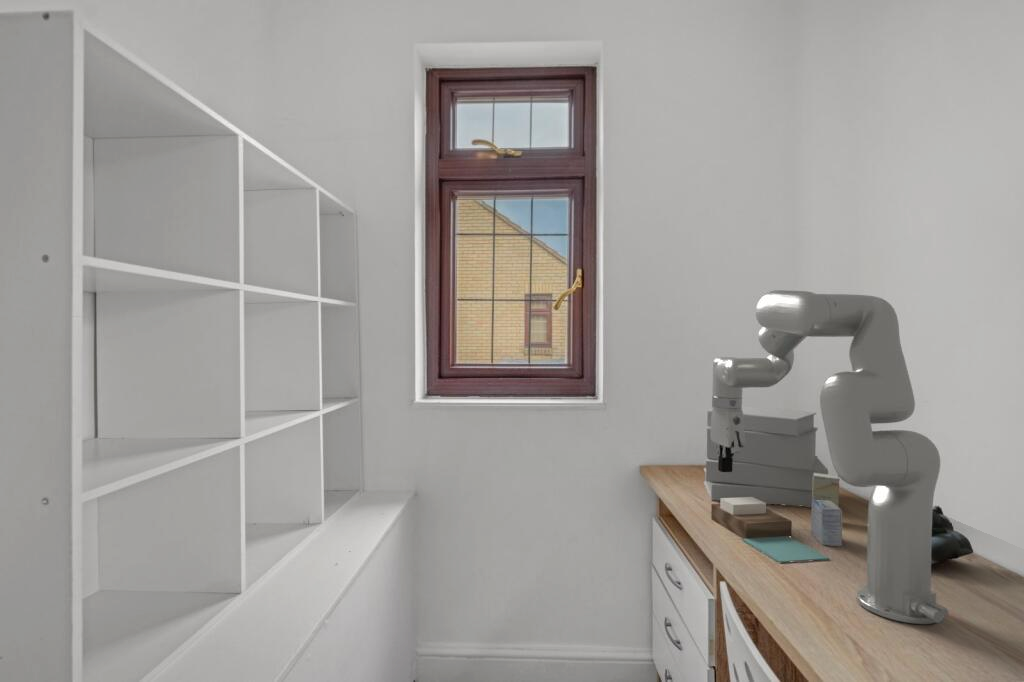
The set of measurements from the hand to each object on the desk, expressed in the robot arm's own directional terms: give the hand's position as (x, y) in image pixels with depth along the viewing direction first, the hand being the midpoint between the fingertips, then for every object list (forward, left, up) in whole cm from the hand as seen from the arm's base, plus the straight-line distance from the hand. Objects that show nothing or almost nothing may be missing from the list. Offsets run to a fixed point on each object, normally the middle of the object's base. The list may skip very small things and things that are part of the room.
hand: (725, 471), depth 157 cm
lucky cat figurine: (-35, -26, -12) cm, 46 cm away
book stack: (+18, -23, -12) cm, 32 cm away
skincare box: (-8, -24, -12) cm, 28 cm away
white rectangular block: (-8, 0, -7) cm, 11 cm away
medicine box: (-21, -14, -12) cm, 28 cm away
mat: (-25, 0, -12) cm, 28 cm away
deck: (-10, -1, -12) cm, 16 cm away
